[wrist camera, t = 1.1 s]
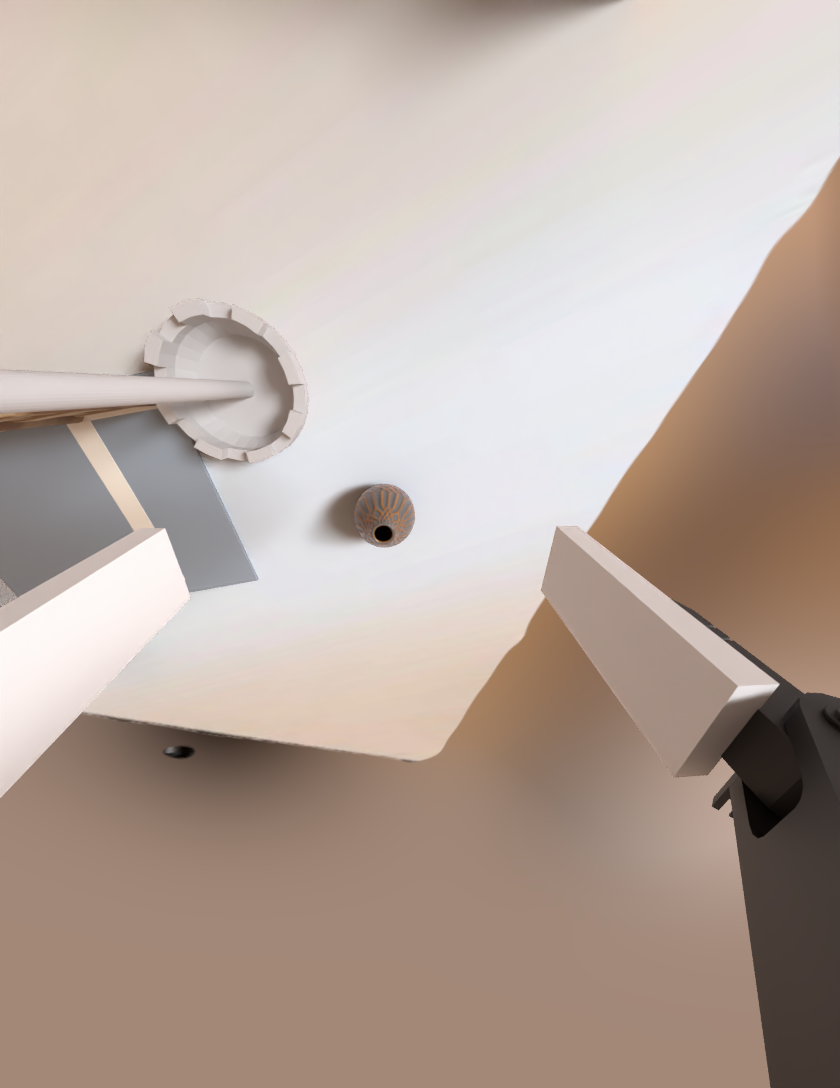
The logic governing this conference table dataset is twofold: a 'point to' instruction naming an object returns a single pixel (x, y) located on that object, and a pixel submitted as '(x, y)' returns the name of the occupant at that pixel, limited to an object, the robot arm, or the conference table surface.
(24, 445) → the board
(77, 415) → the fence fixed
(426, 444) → the conference table surface
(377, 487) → the vase
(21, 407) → the flag stand
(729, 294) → the conference table surface
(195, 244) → the conference table surface
